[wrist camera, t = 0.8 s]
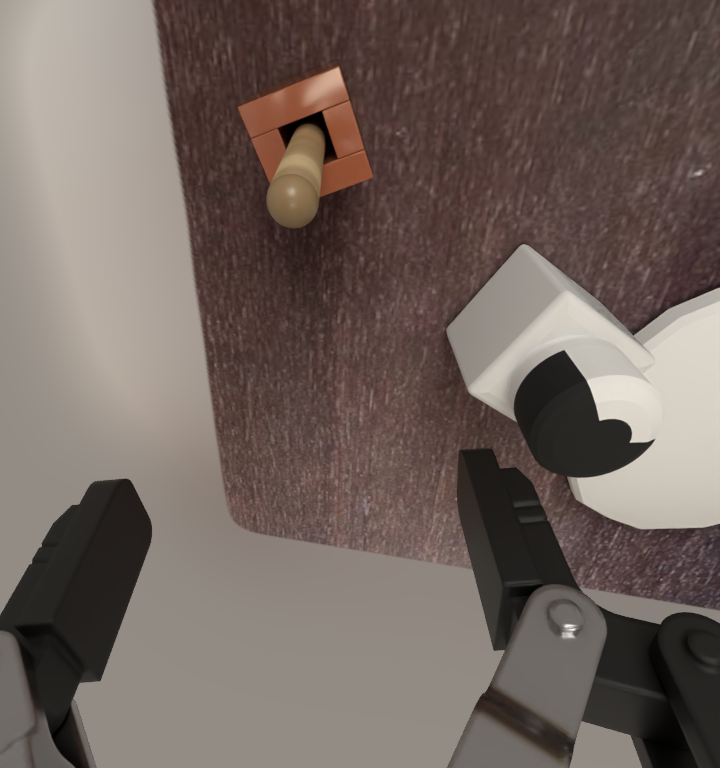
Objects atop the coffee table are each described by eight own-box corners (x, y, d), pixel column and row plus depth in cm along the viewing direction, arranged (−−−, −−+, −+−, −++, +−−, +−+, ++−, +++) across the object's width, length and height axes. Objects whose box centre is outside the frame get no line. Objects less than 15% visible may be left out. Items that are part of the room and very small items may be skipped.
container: (520, 379, 38) (592, 514, 27) (442, 329, 35) (489, 458, 24) (600, 302, 34) (720, 422, 23) (522, 240, 31) (617, 344, 21)
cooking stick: (298, 108, 27) (254, 191, 12) (322, 99, 27) (305, 172, 12) (308, 136, 28) (276, 242, 13) (331, 127, 27) (325, 225, 13)
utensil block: (262, 89, 26) (237, 107, 20) (338, 58, 25) (339, 65, 19) (294, 171, 29) (281, 211, 22) (365, 144, 28) (373, 178, 21)
